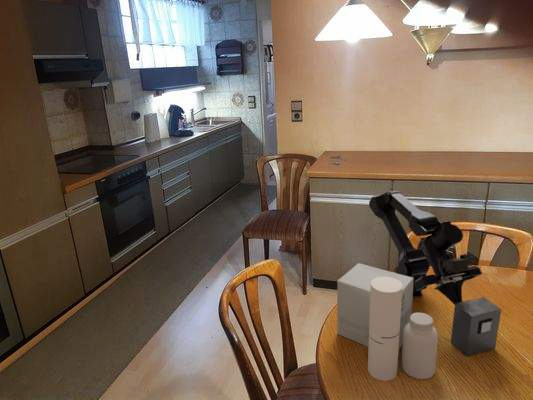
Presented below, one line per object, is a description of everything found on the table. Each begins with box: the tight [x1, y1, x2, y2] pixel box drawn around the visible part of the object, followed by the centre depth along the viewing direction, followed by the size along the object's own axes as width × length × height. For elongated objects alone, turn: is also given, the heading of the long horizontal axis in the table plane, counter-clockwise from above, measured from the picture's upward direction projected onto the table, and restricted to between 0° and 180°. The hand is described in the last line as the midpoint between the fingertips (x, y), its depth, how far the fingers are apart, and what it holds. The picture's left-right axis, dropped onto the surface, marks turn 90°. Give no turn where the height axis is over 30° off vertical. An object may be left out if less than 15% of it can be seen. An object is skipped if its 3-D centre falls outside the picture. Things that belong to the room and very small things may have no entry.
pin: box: [478, 319, 492, 333], centre depth 105 cm, size 8×5×5 cm, turn 15°
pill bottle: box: [401, 312, 439, 380], centre depth 98 cm, size 8×8×15 cm
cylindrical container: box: [367, 277, 402, 382], centre depth 96 cm, size 7×7×25 cm
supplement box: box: [336, 262, 414, 351], centre depth 111 cm, size 17×13×18 cm
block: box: [450, 296, 502, 358], centre depth 105 cm, size 6×9×12 cm, turn 105°
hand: (460, 307), depth 110 cm, fingers closed
